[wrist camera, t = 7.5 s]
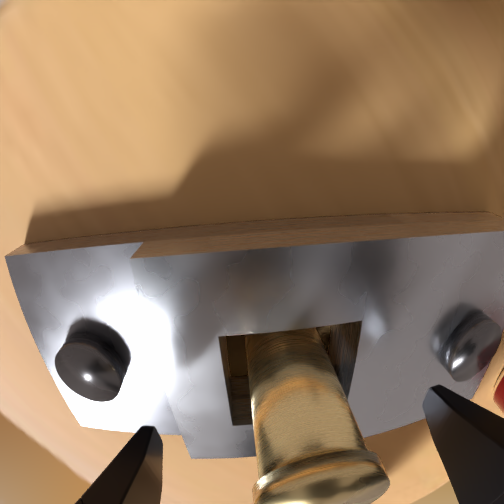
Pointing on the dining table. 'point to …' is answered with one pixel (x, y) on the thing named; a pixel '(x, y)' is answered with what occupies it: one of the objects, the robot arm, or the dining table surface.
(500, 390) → the soda can
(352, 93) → the dining table surface
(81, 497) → the robot arm
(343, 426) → the brass pin
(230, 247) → the grey knobbed base plate
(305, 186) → the dining table surface
